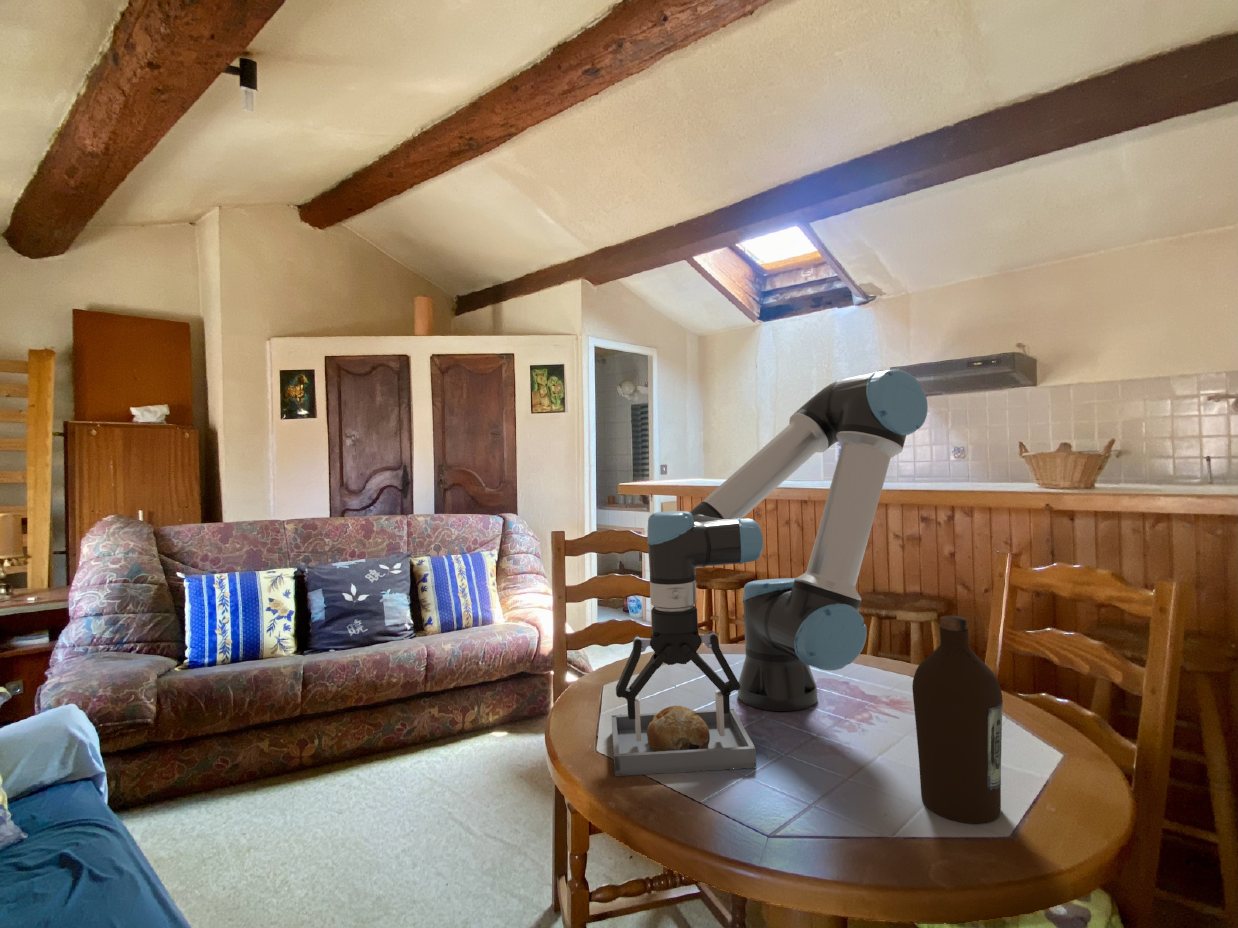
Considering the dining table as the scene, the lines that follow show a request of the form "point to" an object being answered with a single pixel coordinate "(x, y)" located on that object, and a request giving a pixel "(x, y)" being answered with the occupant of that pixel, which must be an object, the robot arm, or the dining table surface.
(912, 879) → the dining table surface
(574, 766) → the dining table surface
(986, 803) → the olive oil
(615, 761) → the tray
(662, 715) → the bread roll
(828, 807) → the dining table surface
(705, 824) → the dining table surface
